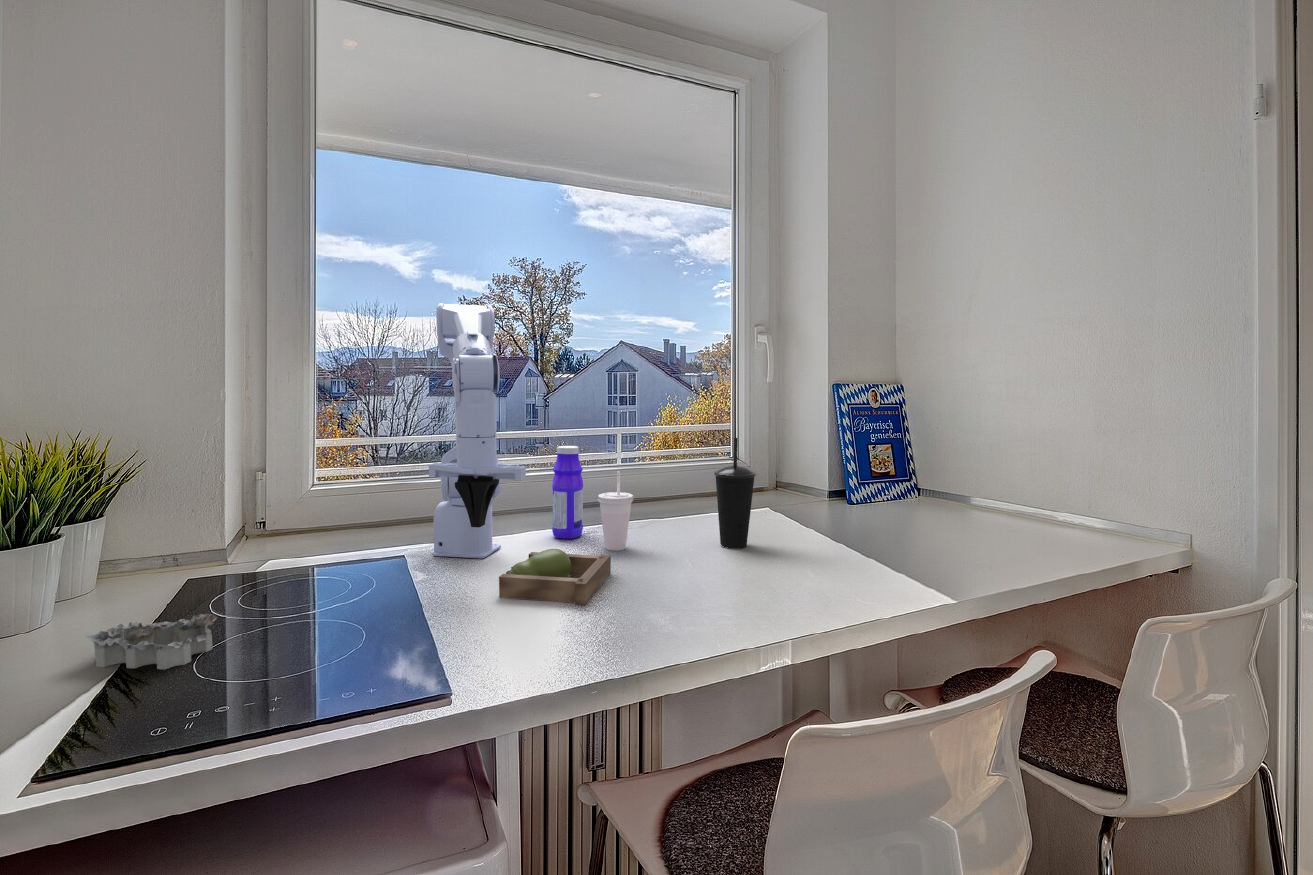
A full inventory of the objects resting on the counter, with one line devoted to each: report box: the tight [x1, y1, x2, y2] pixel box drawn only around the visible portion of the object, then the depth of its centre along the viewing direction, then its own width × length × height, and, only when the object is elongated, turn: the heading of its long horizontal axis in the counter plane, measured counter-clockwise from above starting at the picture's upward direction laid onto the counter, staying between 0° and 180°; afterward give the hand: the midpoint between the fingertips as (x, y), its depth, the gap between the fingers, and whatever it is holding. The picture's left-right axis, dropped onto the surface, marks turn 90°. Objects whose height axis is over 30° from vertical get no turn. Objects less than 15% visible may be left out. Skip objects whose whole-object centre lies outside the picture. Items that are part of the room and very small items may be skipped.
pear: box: [505, 548, 571, 578], centre depth 102 cm, size 6×5×10 cm
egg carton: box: [84, 613, 218, 670], centre depth 76 cm, size 11×8×4 cm
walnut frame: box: [498, 551, 612, 606], centre depth 102 cm, size 13×15×3 cm
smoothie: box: [597, 470, 634, 552], centre depth 123 cm, size 6×6×14 cm
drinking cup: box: [713, 437, 757, 549], centre depth 125 cm, size 8×8×20 cm
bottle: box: [551, 445, 584, 540], centre depth 132 cm, size 7×6×17 cm
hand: (477, 525), depth 103 cm, fingers closed
